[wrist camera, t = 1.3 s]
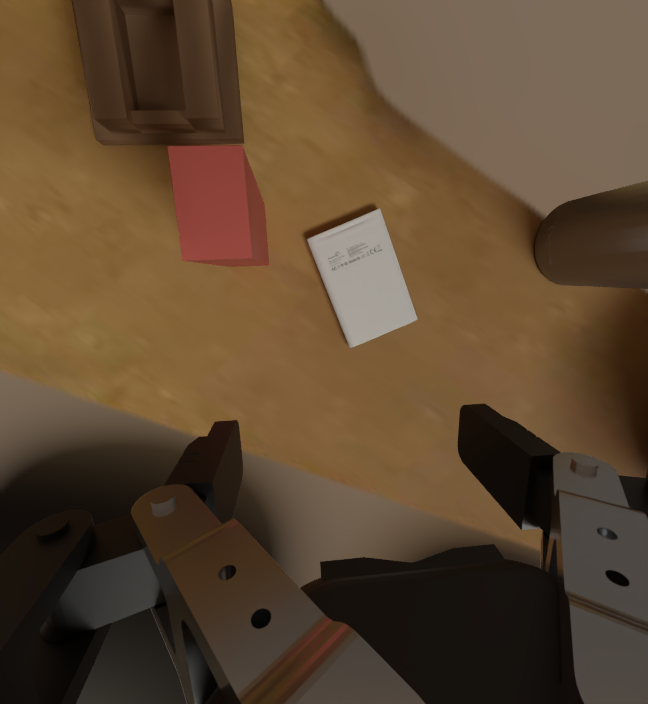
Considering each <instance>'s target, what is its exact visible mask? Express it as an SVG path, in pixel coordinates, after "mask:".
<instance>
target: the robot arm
mask: <svg viewBox="0 0 648 704" xmlns="http://www.w3.org/2000/svg"><path fill="white" fill-rule="evenodd" d="M535 257H536V262H537V264H538V267H539V269H540V271H541V272H542V273H543V275H544V276H545V277H546V278H548V279H549V280H550V281H552V282H554V283H556V284H561V285H570V286H593V287H617V288H642V289H648V181H645V182H641V183H637V184H633V185H629V186H626V187H622V188H618V189H614V190H610V191H606V192H602V193H598V194H595V195H591V196H587V197H583V198H580V199H576V200H572V201H568V202H566V203H564V204H562V205H560V206H558V207H557V208H556V209H554V210H553V211H552V212H551V213H550V214H549V215H548V216H547V217H546V218H545V220H544V221H543V223H542V225H541V226H540V229H539V231H538V234H537V237H536V242H535ZM458 452H459V456H460V458H461V460H462V462H463V463H464V464H465V466H466V467H467V468H468V469H469V470H470V471H471V472H472V474H473V475H474V476H475V477H476V478H477V479H478V480H479V482H480V483H481V484H482V485H483V486H484V487H485V488H486V490H487V491H488V492H489V493H490V494H491V495H492V497H493V498H494V499H495V500H496V501H497V502H498V503H499V505H500V506H501V507H502V508H503V509H504V510H505V511H506V513H507V514H508V515H509V516H510V517H511V518H512V519H513V521H514V522H515V523H516V524H517V525H518V526H519V528H520V529H521V530H527V529H537V528H541V529H542V530H543V531H542V538H541V569H540V568H537V567H534V566H532V565H528V564H525V563H522V562H518V561H513V560H508V559H504V557H503V556H502V555H501V553H500V552H499V551H498V549H497V548H496V546H495V545H494V544H491V545H481V546H472V547H462V548H453V549H450V550H447V551H445V552H442V553H439V554H436V555H433V556H431V557H428V558H425V559H423V560H420V561H417V562H413V563H408V562H399V561H390V560H382V559H374V558H365V557H363V558H353V559H344V560H334V561H325V562H320V564H321V578H319V579H316V580H314V581H312V582H310V583H308V584H306V585H304V586H302V587H301V588H299V587H298V585H297V584H296V583H295V582H294V581H293V580H292V579H291V578H290V577H289V576H288V575H287V574H286V573H285V571H283V569H282V568H281V567H280V566H279V565H278V564H277V563H276V562H275V561H274V560H273V559H272V558H271V557H270V555H269V554H268V553H267V552H266V551H265V550H264V549H263V548H262V547H261V546H260V545H259V544H258V543H257V542H256V540H254V538H253V537H252V536H251V535H250V534H249V533H248V532H247V531H246V530H245V529H244V528H243V527H242V526H241V525H240V523H239V522H238V521H236V520H235V519H232V518H233V514H234V510H235V506H236V502H237V498H238V493H239V490H240V485H241V481H242V475H243V461H242V450H241V441H240V431H239V424H238V421H237V420H233V421H218V422H215V423H214V424H213V426H212V428H211V430H210V432H209V434H208V436H205V437H198V438H197V439H196V440H194V441H193V442H192V443H190V444H189V445H188V446H187V448H186V449H185V451H184V453H183V456H181V458H180V459H179V461H178V464H177V465H176V466H175V468H174V469H173V471H172V473H171V474H170V476H169V478H168V480H167V481H166V483H165V485H164V486H163V487H159V488H157V489H154V490H152V491H150V492H148V493H147V494H145V495H144V496H142V497H141V498H140V499H139V500H138V501H137V502H136V503H135V504H134V506H133V508H132V514H131V515H128V516H125V517H122V518H119V519H115V520H112V521H108V522H105V523H101V524H98V525H95V526H94V525H93V520H92V517H91V515H90V513H88V512H86V511H83V510H72V511H66V512H62V513H59V514H55V515H53V516H50V517H48V518H46V519H43V520H42V521H40V522H38V523H36V524H34V525H33V526H31V527H30V528H28V529H27V530H26V531H25V532H23V533H22V534H21V535H20V536H19V537H18V538H17V539H16V540H15V541H14V542H13V543H12V544H11V545H10V546H9V548H8V549H7V550H6V551H5V552H4V553H3V554H2V555H1V556H0V704H76V702H77V700H78V698H79V696H80V694H81V691H82V689H83V687H84V685H85V683H86V680H87V678H88V676H89V674H90V672H91V669H92V667H93V665H94V663H95V660H96V658H97V656H98V654H99V651H100V649H101V647H102V645H103V643H104V641H105V638H106V636H107V634H108V632H109V629H110V627H111V625H112V622H115V621H117V620H120V619H122V618H125V617H127V616H130V615H132V614H135V613H137V612H140V611H142V610H145V609H147V608H150V607H151V611H152V613H153V615H154V618H155V620H156V622H157V625H158V627H159V630H160V632H161V634H162V637H163V639H164V641H165V644H166V646H167V649H168V651H169V653H170V655H171V658H172V660H173V663H174V665H175V667H176V670H177V673H178V675H179V678H180V681H181V685H182V688H183V692H184V695H185V699H186V702H187V704H648V469H647V474H646V478H638V477H628V476H619V475H618V473H617V471H616V470H615V469H614V468H613V467H612V466H610V465H609V464H607V463H605V462H604V461H601V460H599V459H597V458H594V457H591V456H588V455H584V454H579V453H572V452H564V453H561V452H559V451H558V450H556V449H555V448H553V447H552V446H550V445H549V444H548V443H546V442H545V441H543V440H542V439H540V438H539V437H536V435H535V434H533V433H532V432H530V431H527V429H526V428H524V427H523V426H521V425H520V424H519V423H517V422H515V421H513V420H511V419H508V418H506V417H503V416H502V415H500V414H499V413H498V412H496V411H495V410H493V409H492V408H491V407H489V406H488V405H486V404H472V405H463V406H462V407H461V409H460V418H459V433H458Z"/></svg>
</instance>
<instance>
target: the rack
mask: <svg viewBox="0 0 648 704" xmlns="http://www.w3.org/2000/svg"><path fill="white" fill-rule="evenodd" d="M72 5H73V10H74V16H75V22H76V28H77V33H78V39H79V45H80V50H81V56H82V62H83V67H84V73H85V79H86V85H87V90H88V96H89V102H90V107H91V113H92V119H93V125H94V130H95V136H96V140H97V141H98V142H100V143H101V144H103V145H145V144H240V143H244V137H243V125H242V114H241V102H240V90H239V79H238V67H237V56H236V44H235V32H234V21H233V9H232V3H231V0H72Z"/></svg>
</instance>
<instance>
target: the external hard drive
mask: <svg viewBox="0 0 648 704" xmlns="http://www.w3.org/2000/svg"><path fill="white" fill-rule="evenodd" d="M307 242H308V245H309V248H310V250H311V252H312V255H313V258H314V260H315V263H316V265H317V268H318V270H319V273H320V275H321V278H322V280H323V283H324V285H325V288H326V290H327V293H328V295H329V298H330V300H331V303H332V305H333V308H334V310H335V313H336V315H337V318H338V320H339V323H340V325H341V328H342V330H343V333H344V335H345V338H346V340H347V343H348V345H349V347H350V348H352V347H355V346H357V345H359V344H362V343H364V342H366V341H369V340H371V339H374V338H376V337H378V336H381V335H383V334H385V333H388V332H390V331H393V330H395V329H397V328H400V327H402V326H404V325H407V324H409V323H411V322H414V321H416V320H417V316H416V313H415V310H414V307H413V305H412V302H411V299H410V296H409V293H408V290H407V287H406V284H405V281H404V278H403V275H402V272H401V269H400V266H399V263H398V260H397V258H396V255H395V252H394V249H393V246H392V243H391V240H390V237H389V234H388V231H387V228H386V225H385V222H384V219H383V216H382V213H381V210H380V209H377V210H374V211H372V212H370V213H368V214H365V215H363V216H361V217H358V218H356V219H353V220H351V221H349V222H346V223H344V224H342V225H339V226H337V227H334V228H332V229H330V230H327V231H325V232H323V233H320V234H318V235H315V236H313V237H311V238H308V239H307Z"/></svg>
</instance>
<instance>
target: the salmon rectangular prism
mask: <svg viewBox="0 0 648 704" xmlns="http://www.w3.org/2000/svg"><path fill="white" fill-rule="evenodd" d="M167 147H168V154H169V162H170V169H171V177H172V185H173V192H174V200H175V207H176V215H177V222H178V230H179V237H180V245H181V252H182V260H183V261H188V262H196V263H204V264H212V265H220V266H228V267H236V266H261V265H269V258H268V245H267V232H266V219H265V206H264V202H263V199H262V196H261V194H260V191H259V188H258V186H257V183H256V180H255V178H254V175H253V172H252V170H251V167H250V164H249V162H248V159H247V156H246V154H245V151H244V148H243V146H242V145H227V146H167Z"/></svg>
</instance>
